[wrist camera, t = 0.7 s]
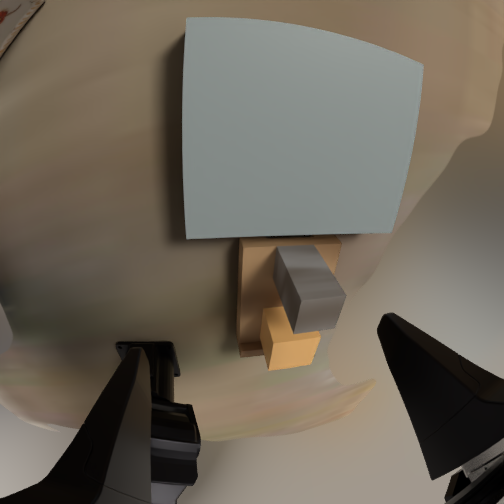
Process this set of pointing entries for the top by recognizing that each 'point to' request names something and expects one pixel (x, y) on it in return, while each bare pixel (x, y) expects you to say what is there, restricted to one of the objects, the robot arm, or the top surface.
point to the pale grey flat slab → (293, 130)
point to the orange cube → (285, 341)
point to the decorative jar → (14, 18)
